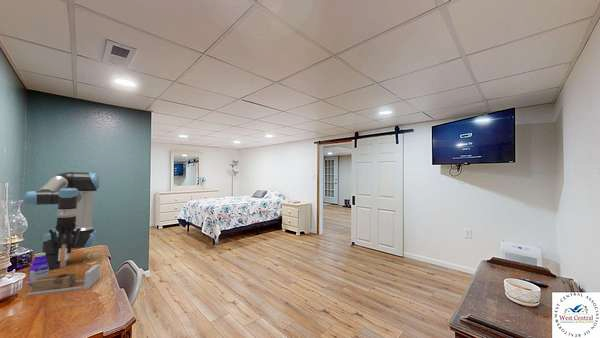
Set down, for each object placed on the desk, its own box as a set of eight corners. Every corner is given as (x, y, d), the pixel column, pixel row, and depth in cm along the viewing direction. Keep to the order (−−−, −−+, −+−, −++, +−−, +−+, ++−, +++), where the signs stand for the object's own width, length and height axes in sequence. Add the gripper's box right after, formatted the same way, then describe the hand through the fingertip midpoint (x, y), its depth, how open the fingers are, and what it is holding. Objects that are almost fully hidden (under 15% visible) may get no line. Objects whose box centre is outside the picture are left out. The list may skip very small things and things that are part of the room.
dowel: (61, 266, 127) (62, 244, 128) (66, 265, 128) (68, 243, 129) (58, 267, 125) (60, 245, 126) (64, 267, 126) (66, 244, 127)
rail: (38, 288, 127) (40, 269, 128) (98, 281, 138) (99, 264, 138) (22, 299, 115) (23, 278, 116) (88, 291, 126) (90, 272, 126)
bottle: (33, 288, 127) (36, 255, 128) (25, 286, 128) (28, 255, 129) (49, 282, 134) (52, 252, 135) (42, 281, 135) (45, 251, 136)
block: (41, 287, 126) (42, 275, 126) (74, 283, 131) (75, 272, 132) (31, 293, 119) (32, 281, 119) (67, 289, 124) (68, 278, 124)
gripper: (44, 218, 122) (40, 263, 120) (80, 217, 127) (77, 260, 126) (52, 215, 129) (49, 259, 127) (87, 215, 134) (84, 256, 133)
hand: (63, 259), depth 127 cm, fingers closed on dowel, 2 cm apart
